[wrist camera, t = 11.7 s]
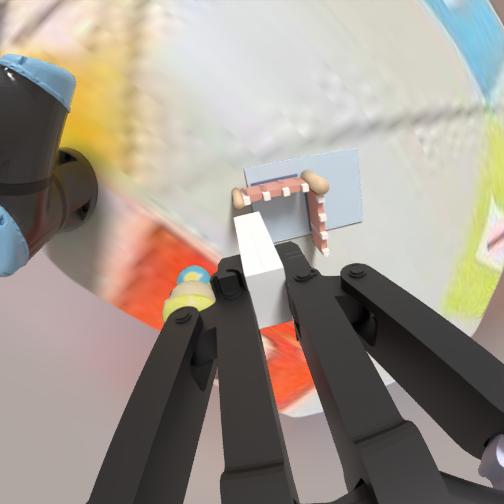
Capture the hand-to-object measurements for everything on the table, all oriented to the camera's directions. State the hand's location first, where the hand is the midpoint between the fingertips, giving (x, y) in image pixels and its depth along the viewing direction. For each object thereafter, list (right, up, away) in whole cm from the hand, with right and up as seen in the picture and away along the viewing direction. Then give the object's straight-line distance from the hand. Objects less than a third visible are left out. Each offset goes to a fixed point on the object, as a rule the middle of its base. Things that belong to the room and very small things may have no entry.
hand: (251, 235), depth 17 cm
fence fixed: (+4, +10, +28) cm, 30 cm away
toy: (-11, -5, +34) cm, 36 cm away
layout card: (+10, +9, +30) cm, 33 cm away
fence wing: (+11, +5, +31) cm, 33 cm away
